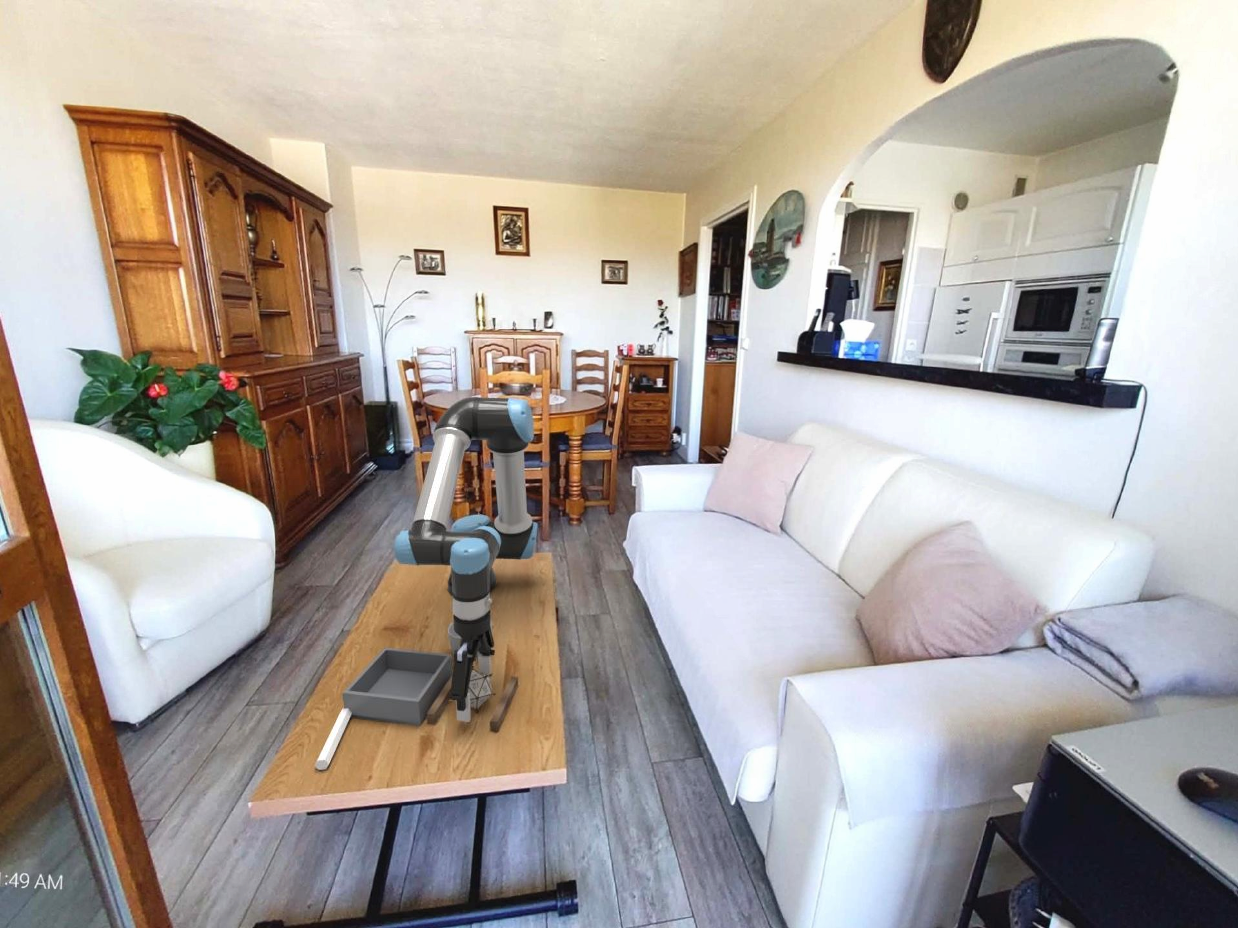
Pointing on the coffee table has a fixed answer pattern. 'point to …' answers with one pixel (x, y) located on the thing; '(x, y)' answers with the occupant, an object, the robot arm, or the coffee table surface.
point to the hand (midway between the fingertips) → (475, 699)
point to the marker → (333, 739)
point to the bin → (398, 686)
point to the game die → (479, 688)
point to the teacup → (457, 639)
